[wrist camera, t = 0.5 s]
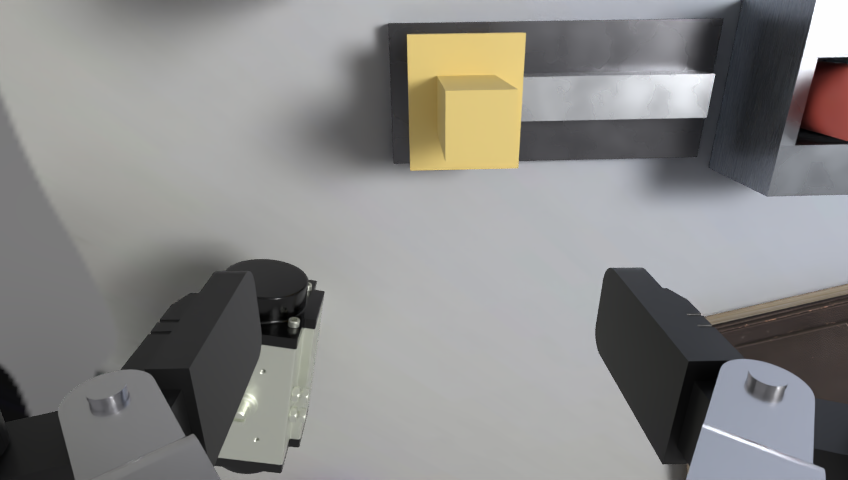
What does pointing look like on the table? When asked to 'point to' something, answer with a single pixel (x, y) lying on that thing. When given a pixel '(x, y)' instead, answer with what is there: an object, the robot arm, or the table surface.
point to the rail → (592, 85)
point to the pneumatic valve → (276, 369)
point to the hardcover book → (796, 338)
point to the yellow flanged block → (465, 100)
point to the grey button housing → (781, 99)
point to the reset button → (828, 101)
